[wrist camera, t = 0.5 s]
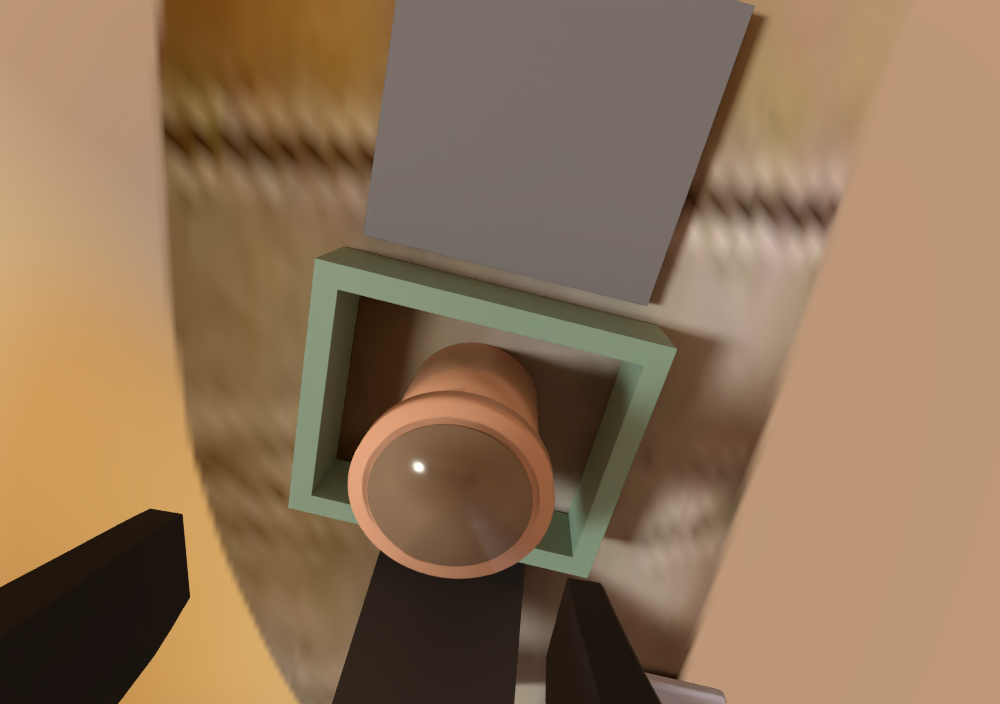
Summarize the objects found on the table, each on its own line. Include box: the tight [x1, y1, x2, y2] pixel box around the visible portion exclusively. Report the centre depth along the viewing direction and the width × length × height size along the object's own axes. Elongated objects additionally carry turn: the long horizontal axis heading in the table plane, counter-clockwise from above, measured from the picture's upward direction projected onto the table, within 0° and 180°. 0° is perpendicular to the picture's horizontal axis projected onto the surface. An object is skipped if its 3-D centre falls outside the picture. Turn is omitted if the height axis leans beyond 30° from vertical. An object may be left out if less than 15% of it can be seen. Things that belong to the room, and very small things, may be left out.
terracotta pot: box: [348, 343, 555, 579], centre depth 17 cm, size 6×6×6 cm
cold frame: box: [288, 247, 677, 578], centre depth 18 cm, size 10×12×2 cm
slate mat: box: [363, 0, 755, 306], centre depth 16 cm, size 9×10×1 cm
